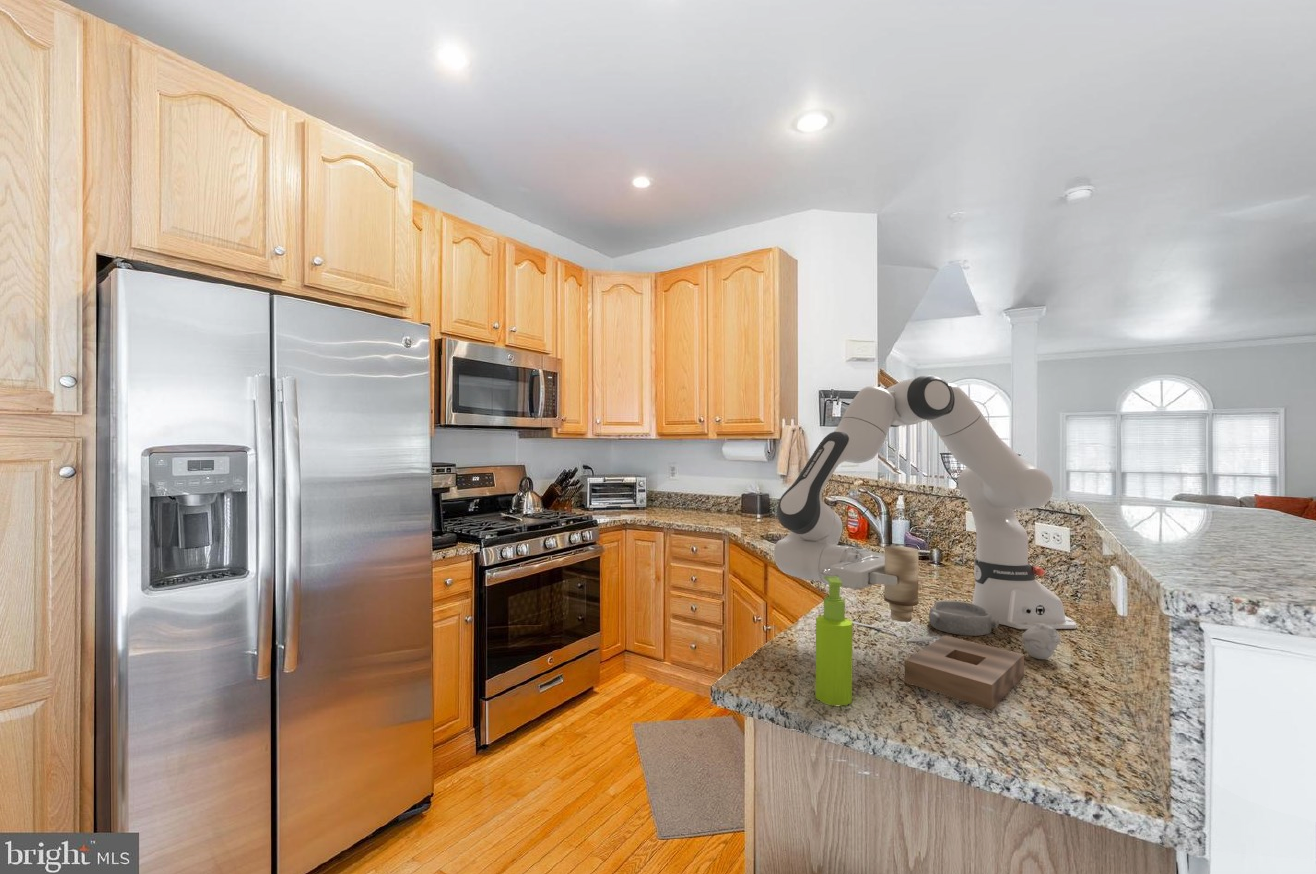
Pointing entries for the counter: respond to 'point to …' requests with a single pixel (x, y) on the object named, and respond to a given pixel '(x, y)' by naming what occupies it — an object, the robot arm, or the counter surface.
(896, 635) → the fork
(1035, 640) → the frog figurine
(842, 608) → the soap dispenser
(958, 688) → the walnut board
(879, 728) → the counter surface
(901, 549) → the maple leg
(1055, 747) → the counter surface
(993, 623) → the dish
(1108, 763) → the counter surface
